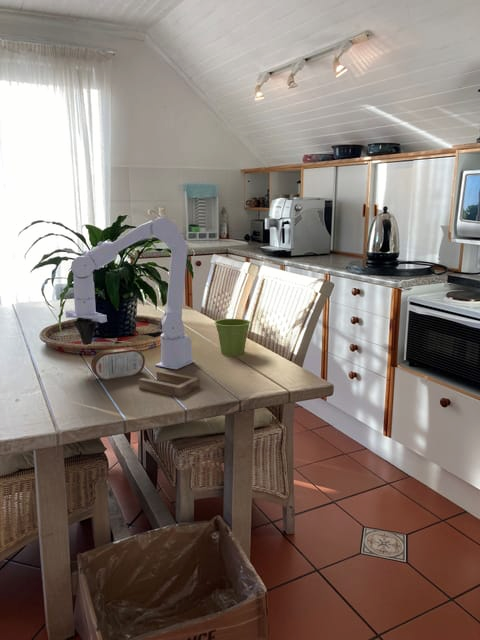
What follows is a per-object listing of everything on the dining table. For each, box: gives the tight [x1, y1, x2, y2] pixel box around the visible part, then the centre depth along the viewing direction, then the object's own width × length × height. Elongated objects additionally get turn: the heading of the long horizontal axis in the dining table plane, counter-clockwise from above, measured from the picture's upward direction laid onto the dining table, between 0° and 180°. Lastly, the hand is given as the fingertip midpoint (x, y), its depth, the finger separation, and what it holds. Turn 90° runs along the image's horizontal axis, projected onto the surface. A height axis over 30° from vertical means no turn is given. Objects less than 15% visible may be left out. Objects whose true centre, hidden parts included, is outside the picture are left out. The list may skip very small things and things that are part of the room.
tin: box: [90, 346, 146, 381], centre depth 149 cm, size 15×3×8 cm, turn 120°
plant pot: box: [213, 318, 252, 357], centre depth 171 cm, size 12×12×11 cm
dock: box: [138, 370, 201, 398], centre depth 140 cm, size 9×14×2 cm, turn 60°
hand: (87, 343), depth 154 cm, fingers closed
